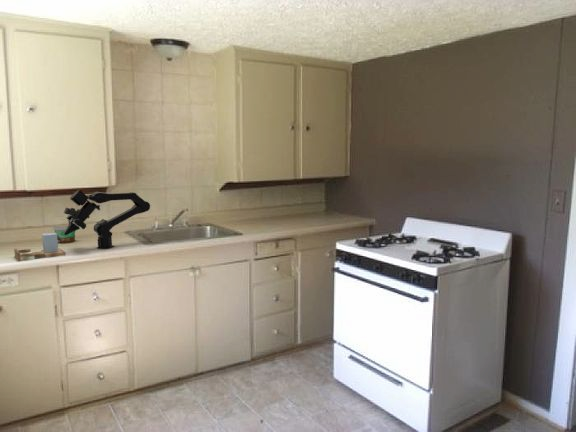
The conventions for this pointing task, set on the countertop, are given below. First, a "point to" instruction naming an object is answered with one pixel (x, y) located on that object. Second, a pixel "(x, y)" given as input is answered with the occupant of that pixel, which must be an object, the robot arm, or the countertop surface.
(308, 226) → the countertop surface
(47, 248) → the blue-grey block
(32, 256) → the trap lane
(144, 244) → the countertop surface
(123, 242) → the countertop surface
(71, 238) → the food container
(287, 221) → the countertop surface
